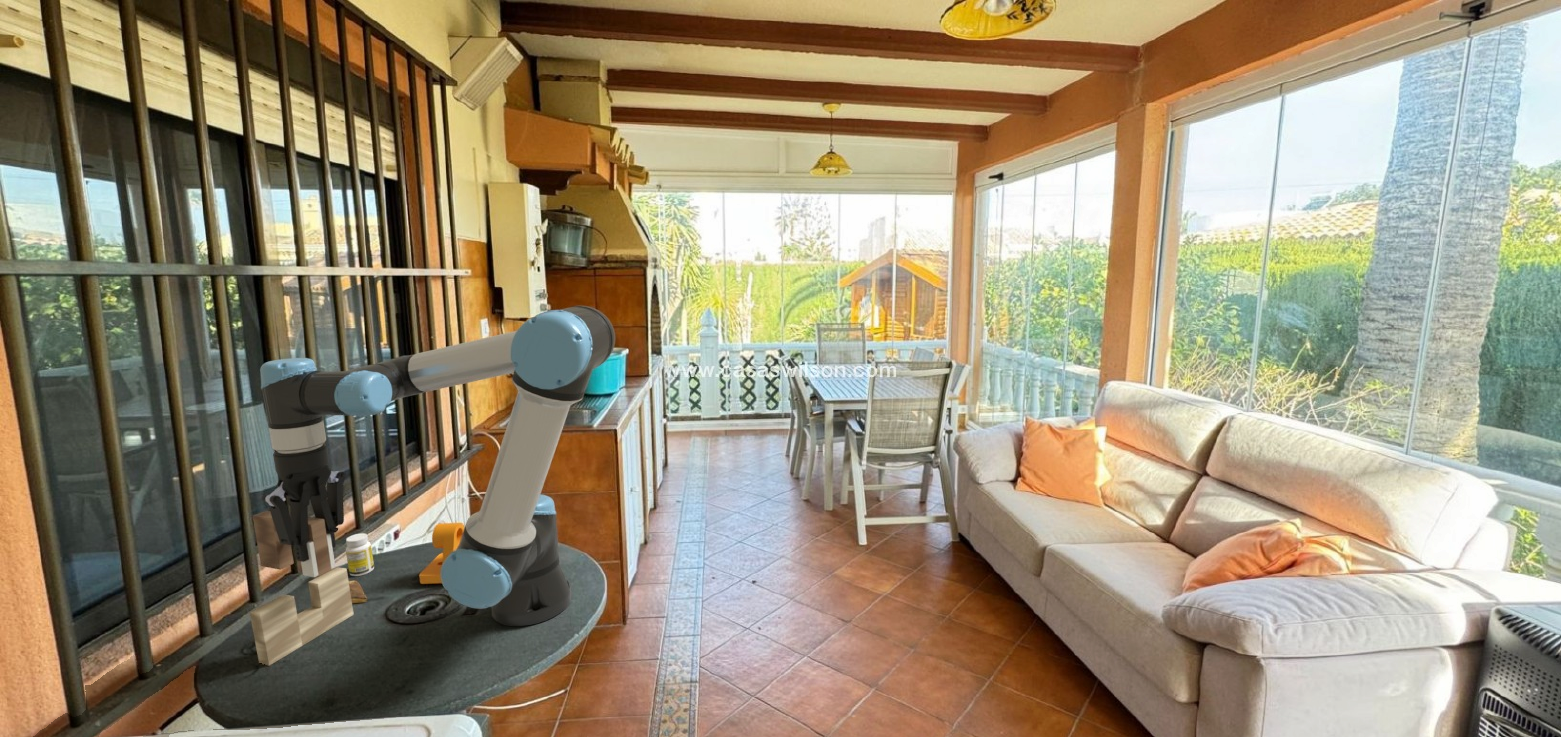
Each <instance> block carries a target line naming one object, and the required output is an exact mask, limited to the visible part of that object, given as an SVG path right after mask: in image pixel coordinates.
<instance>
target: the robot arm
mask: <svg viewBox="0 0 1561 737" xmlns="http://www.w3.org/2000/svg"><path fill="white" fill-rule="evenodd" d="M615 344H616V332H615V328H614V325H613V324H612V322H611V321H610V319H609V317H607V315H605V314H604V313H603V312H602V311H600V310H598V309H596V308H594V307H592V306H588V305H587V306H586V305H575V306H574V305H573V306H570V307H569V306H568V307H566V308H562V309H553V310H552V309H551V310H546V311H543V312H540V313H539V314H536V315H534V316H533V317H531V318H529V319H527V320H526V321H525V322H523V323H522V324H521V325H520V327H518V329H517V330H515V331H510V332H505V333H501V334H497V335H492V336H489V337H488V336H487V337H484V338H479V339H476V340H475V339H474V340H469V341H467V342H462V343H457V344H452V345H449V346H444V347H440V348H436V349H431V350H427V351H423V352H418V353H415V354H410V355H401V356H398V357H394V358H391V359H388V360H384V361H380V362H377V363H374V364H373V363H372V364H368V365H365V366H364V365H363V366H360V367H356V368H352V369H349V370H343V371H339V370H337V371H335V370H334V371H319V370H318V368H317V367H316V363H315V361H314V360H313V359H312V358H308V357H291V358H283V359H282V358H281V359H275V360H269V361H267V362H264V363H263V364H262V365H261V366H260V369H259V371H260V390H261V391H262V395H263V396H262V397H263V401H264V405H265V413H266V417H267V418H266V419H267V424H268V430H269V436H270V442H271V448H272V450H275V451H274V453H273V455H272V457H273V462H274V469H275V473H276V474H277V475H278V480H277V483H276V487H277V488H275V489H274V490H273V491H272V492H271V493H270V494H266V493H265V494H264V495H263V496H262V498H261V499H262V501H263V503H264V504H265V505H266V506H267V507H268V508H269V511H270V512H271V516H272V519H273V522H274V525H275V528H276V531H277V535H278V538H279V541H280V543H281V544H284V545H290V546H291V547H293V548H294V555H295V560H296V562H297V561H301V566H302V572H303V574H302V575H303V576H305V577H310V578H317V577H318V568H317V562H316V555H315V549H314V543H313V541H308V517H309V515H308V514H309V512H308V511H309V510H308V508H309V507H308V506H309V505H310V503H311V507H312V511H313V515H314V518H320V519H324V521H325V528H326V535H327V542H328V548H329V555H330V562H331V569H332V570H333V569H335V568H336V562H335V556H334V550H333V548H336V539H335V537H336V536H335V534H336V533H338V531H339V527H338V526H341V525H343V524H344V522H345V517H344V516H345V515H344V514H345V512H344V506H345V504H344V482H345V479H346V476H347V473H346V472H345V471H338V470H332V469H331V468H330V467H329V463H330V456H329V450H328V445H327V444H325V443H326V441H327V434H326V429H325V423H324V417H323V416H350V417H364V416H375V415H378V414H382V413H383V412H384V411H385V410H386V408H387V407H389V405H390V404H391V402H393V401H394V402H395V401H396V400H400V399H403V398H406V397H407V398H408V397H410V396H415V395H419V394H423V393H424V394H425V393H428V392H432V391H436V390H441V389H446V388H450V387H454V386H459V385H463V384H469V383H473V382H477V381H482V380H487V379H492V378H497V377H500V376H505V375H509V374H512V377H511V382H512V384H514V387H516V389H517V395H516V397H515V401H514V403H513V406H512V410H511V412H510V416H509V419H508V423H507V424H506V428H505V429H506V430H505V431H504V435H503V438H502V441H501V444H500V446H499V450H498V453H497V456H496V459H495V463H494V466H493V469H492V471H491V476H490V478H489V482H488V485H487V488H486V490H485V491H486V492H485V494H484V498H483V500H482V504H481V506H480V510H479V511H477V512H475V513H473V514H471V515H470V516H469V517H468V519H467V520H466V523H465V524H464V527H465V528H464V531H463V534H462V537H461V541H460V544H459V546H458V548H457V549H456V550H455V551H453V552H451V553H450V554H449V555H448V557H447V558H446V560H445V561H444V562H443V565H442V567H441V581H442V583H441V584H442V586H443V587H444V589H445V590H446V591H447V592H448V595H449V596H450V597H451V598H452V599H453V600H454V601H456V602H457V603H459V604H460V605H462V606H465V607H467V608H472V609H478V610H479V609H482V610H483V609H487V608H490V609H491V616H492V618H493V620H494V621H496V622H497V623H499V624H500V625H504V626H510V627H523V626H524V627H525V626H531V625H535V624H539V623H542V622H545V621H547V620H549V619H552V618H554V617H556V616H558V615H559V614H561V613H562V612H563V611H565V609H567V608H568V606H569V605H570V603H571V602H572V588H571V584H570V582H569V581H568V580H567V578H566V576H565V573H564V571H563V568H562V566H561V564H560V553H559V552H560V551H559V540H558V526H557V511H556V507H555V501H554V500H553V498H552V497H550V496H548V495H546V494H541V493H542V492H543V491H542V490H543V487H544V484H545V481H546V478H547V475H548V472H549V470H550V467H551V464H552V460H553V459H554V456H555V452H556V449H557V446H558V443H559V441H560V438H561V435H562V432H563V428H564V426H565V423H566V419H567V417H568V413H569V411H570V408H571V406H572V405H573V404H577V403H579V402H580V401H583V398H584V396H585V393H586V389H587V387H588V386H589V385H588V384H589V381H590V380H591V379H590V378H591V376H592V373H593V371H594V370H595V369H596V368H599V367H600V366H601V365H603V364H604V363H605V362H606V361H607V360H608V359H609V358H610V356H611V355H612V353H613V351H614V348H615V346H616V345H615ZM285 496H287V499H286V497H285ZM286 500H287V504H288V505H287V504H286V503H285V501H286ZM288 506H289V509H288ZM289 514H290V515H289Z"/></svg>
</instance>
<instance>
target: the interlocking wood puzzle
mask: <svg viewBox="0 0 1561 737" xmlns="http://www.w3.org/2000/svg"><path fill="white" fill-rule="evenodd" d="M347 569H348V568H346V567H338V566H336V567H334V568H332V570H331V571H329V572H327V573H325V574H323V575H321V576H319V577H318V576H316V577H314V578H312V579H311V580H309V581H308V582H307V584H308V590H309V595H310V601H311V606H310V607H308V608H306V609H304V610H302V611H301V612H299V613H298V612H297V606H296V600H295V596H294V595H289V594H284V593H283V594H282V595H280V596H278V597H276V598H274V599H272V600H270V601H269V602H267V603H264V604H263V605H262V604H261V606H258V607H256V608H254V609H253V610H250V611H249V617H250V622H251V626H252V632H253V637H254V643H255V648H256V649H255V650H256V653H257V659H258V664H259V663H262V664H261V665H264V664H265V666H269V667H270V666H272V665H273V664H275V663H276V662H277V661H279V660H281V659H283V658H284V657H286V656H288V655H289V654H291V653H293V652H294V651H296V650H298V649H300V648H301V647H303V646H305V645H306V644H308V643H309V642H311V641H312V640H315V639H316V638H318V637H319V636H321V635H323V634H324V633H325V632H328V631H329V630H331V629H333V628H335V627H336V626H337V625H339V624H341V623H342V622H344V621H345V620H347V619H349V618H351V617H352V616H354V615H355V614H354V608H353V603H352V601H351V594H350V587H349V581H350V580H349V576H348V575H349V574H348V570H347Z"/></svg>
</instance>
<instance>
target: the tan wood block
mask: <svg viewBox="0 0 1561 737" xmlns="http://www.w3.org/2000/svg"><path fill="white" fill-rule="evenodd" d="M289 515H290V513H289ZM252 521H253V526H254V527H253V528H254V532H255V538H256V543H257V544H256V545H257V550H258V556H259V557H258V558H259V562H260V566H261V567H263V568H268V569H275V570H284V569H285V568H287V567H289V566H291V565H293V564H295V563H294V556H293V550H292V546H290V545H284V544H281V543H280V541H279V538H278V535H277V531H276V528H275V525H274V522H273V519H272V516H271V512H270V510H264V511H262V512H259V513H256V514H253V515H252ZM308 541H313V543H314V549H315V555H316V562H317V568H318V576H317V577H319V576H321V575H323V574H325V573H327V572H329V571H331V570H333V568H332V569H331V562H330V555H329V548H328V542H327V535H326V528H325V521H324V519H320V518H315V516H313V517H312V516H308ZM296 564H297V565H296V566H297V571H298V574H302V575H303V572H302V566H301V561H297V560H296Z"/></svg>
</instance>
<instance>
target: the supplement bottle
mask: <svg viewBox="0 0 1561 737" xmlns="http://www.w3.org/2000/svg"><path fill="white" fill-rule="evenodd" d="M368 536H369V535H368V534H367V533H355V534H352V535H350V536H348V537H346V538H345V539H346V540H345V542H346V547H345V554H346V560H347V569H348V572H349V575H350V576H352V577H359V576H360V577H361V576H363V575H364V576H365V575H368V574H369V573H371V572H372V571H373V570H374V569H375V562H374V557H373V555H374V554H373V549H372V544H371V542H370V541H369V538H368Z"/></svg>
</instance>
